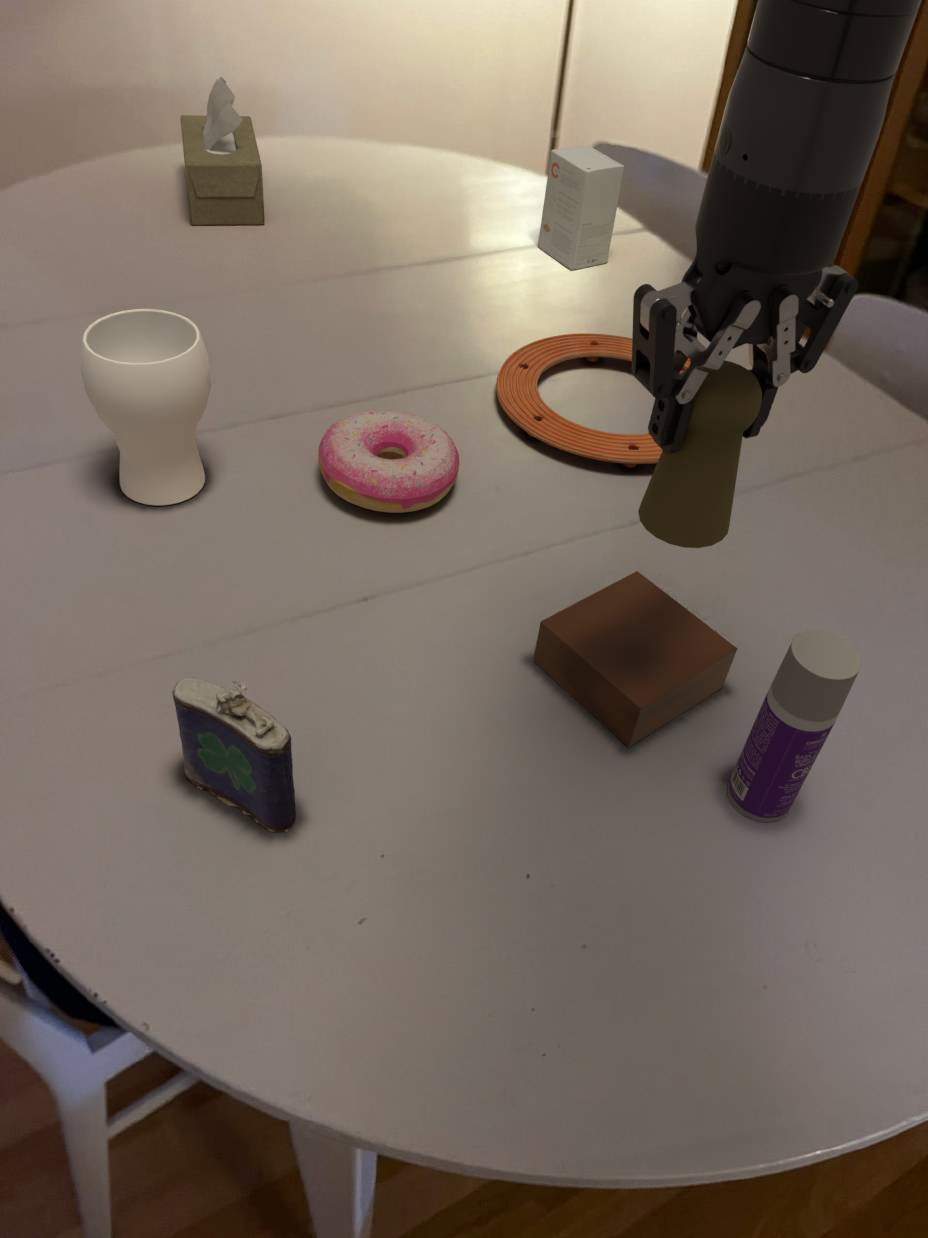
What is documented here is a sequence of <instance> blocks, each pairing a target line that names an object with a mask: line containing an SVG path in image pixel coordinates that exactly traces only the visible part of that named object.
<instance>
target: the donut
mask: <svg viewBox="0 0 928 1238" xmlns="http://www.w3.org/2000/svg"><path fill="white" fill-rule="evenodd" d="M318 445H319V446H318V466H319V469H320V473H321V475H322V478H323V479H324V481H325V482H326V484H327V486H328V487H329V488H330V490H331V491H332V492H334V493H335V495H337V496H338V497H339V498H341V499H343V500H344V501H346V502H348V503H350V504H353V505H355V506H358V507H360V508H363V509H367V510H371V511H375V512H380V513H390V514H397V513H399V514H401V513H410V512H416V511H420V510H423V509H427V508H429V507H431V506H433V505H435V504H437V503H439V502H440V501H441V500H442V499H443V498H444V497H445V496H447V494H448V493H449V491H450V490H451V489H452V487H453V485H454V484H455V483H456V481H457V477H458V474H459V470H460V454H459V451H458V448H457V447H456V444H455V442H454V440H453V438H452V437H451V436H450V434H448V433H447V431H446V430H444V429H443V428H442V427H440V426H439V425H438V424H436V423H434V422H432V421H430V420H428V419H426V418H425V417H422V416H419V415H416V414H413V413H408V412H405V411H399V410H390V409H389V410H387V409H383V410H382V409H381V410H379V409H377V410H367V411H366V410H365V411H361V412H357V413H354V414H351V415H347V416H345V417H343V418H340V419H339V420H338V421H336V422H334V423H332V424H331V425H330V427H328V428H327V429H326V431H325V432H324V435H323V436H322V438H321V440H320V443H319V444H318Z"/></svg>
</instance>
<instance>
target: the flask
mask: <svg viewBox="0 0 928 1238" xmlns="http://www.w3.org/2000/svg"><path fill="white" fill-rule="evenodd" d="M232 684H237V687H236V686H233V685H229V686H227V687H223V686H220V685H218V684H215V683H213V682H210V681H208V680H203V679H202V678H200V677H199V678H198V677H187V678H184V679H182V680H180V681H178V682H176V684H175V685H174V687H173V689H172V692H171V693H172V699H173V702H174V707H175V712H176V718H177V719H176V720H177V723H178V729H179V738H180V743H181V751H182V758H183V759H182V760H183V766H184V774H185V776H186V778H187V779H188V780H189V781H190V782H191V783H192V784H193V785H195V786H196V787H197V789H199V790H203V789H204V790H206V791H208V792H209V793H211V794H212V795H213V796H214V797H216V799H217V800H219V801H221V802H222V804H226V805H227V806H228V807H235V808H239V809H240V810H242V815H247V816H251V817H252V818H253V819H254V820H255V823H258V824H259V825H261V826H262V827H263V828H265V829H267V830H268V831H269V832H273V833H277V832H278V833H281V832H286V833H288V831H289V829H291V828H292V827H293V826H294V825H295V824H296V821H297V818H298V815H297V809H296V795H295V793H296V790H295V783H294V773H293V772H294V771H293V769H294V768H293V754H292V736H291V734H290V732H289V730H288V729H287V727H285V726H284V724H282V723H281V722H279V720H277V719H276V717H274V716H273V715H271V714H270V713H269V712H268V711H266V710H265V709H264V708H263V707H261V706H259V704H257V703H255V702H253V701H252V700H251V699H249V698H248V697H245V695H243V694H242V691H247V690H248V685H247V683H245V682H244V681H243V680H242V681H237V680H235V679H233V680H232ZM238 687H239V688H240V689H241V690H240V689H239V688H238Z"/></svg>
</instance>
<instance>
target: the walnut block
mask: <svg viewBox="0 0 928 1238" xmlns="http://www.w3.org/2000/svg"><path fill="white" fill-rule="evenodd" d="M737 652H738V647H736V646H735V645H734V644H732V643H731V642H730V641H729V640H727V639H726V638H724V636H722V635H721V634H720V633H718V632H717V631H716V630H714V629H713V628H711V626H709V624H706V623H705V622H704V621H703V620H701V619H700V618H699V617H697V616H696V615H695V614H694V613H693V612H691V611H689V609H688V608H686V607H685V606H683V604H680V602H678V601H677V600H676V599H675V598H673V597H672V596H671V595H669V594H668V593H667V592H666V591H664V590H662V588H660V587H658V585H656V584H655V583H654V582H653V581H651V580H650V579H649V578H647V577H646V576H645V575H643V574H642V573H641V572H640V571H638V570H637V571H635V572H632V573H630V574H628V575H626V576H625V577H623V578H621V579H619V580H617V581H615V582H613V583H610V584H609V585H607V586H605V587H603V588H602V589H599V590H598V591H596V592H594V593H592V594H589V595H588V596H587V597H585V598H582V599H580V600H579V601H577V602H574V603H573V604H571V605H569V606H568V607H565V608H564V609H561V610H559V611H557V612H556V613H554V614H552V615H550V616H548V617H546V618H544V619H542V620H541V621H540V623H539V628H538V633H537V638H536V643H535V649H534V654H533V658H532V661H533V662H534V663H535V664H536V665H537V666H538V667H539V668H540V669H541V670H542V671H543V672H545V673H546V674H547V675H548V676H549V677H550V678H551V679H552V680H553V681H555V682H556V683H557V684H558V685H559V686H560V687H561V688H562V689H563V690H564V691H565V692H567V694H568V695H570V696H571V697H572V698H573V699H575V700H576V702H577V703H579V704H580V705H581V706H582V707H583V708H584V709H585V710H587V712H588V713H590V714H591V715H592V716H593V717H594V718H595V719H597V721H598V722H600V724H602V725H603V726H604V727H605V728H606V729H608V730H609V732H611V733H612V734H613V735H614V736H615V737H616V738H617V739H618V740H620V742H621V743H623V744H624V745H625V746H626V747H627V748H630V747H632V746H633V745H635V744H637V743H639V742H640V741H641V740H643V739H644V738H646V737H648V736H649V735H650V734H652V733H654V732H655V731H657V730H659V729H660V728H661V727H663V726H665V725H666V724H668V723H669V722H671V721H673V720H674V719H675V718H678V717H679V716H680V715H681V714H684V713H686V712H687V711H688V710H690V709H691V708H693V707H694V706H696V705H697V704H699V703H700V702H702V701H704V700H705V699H707V698H708V697H710V696H711V695H713V694H715V693H716V692H717V691H719V690H721V689H722V688H723V687H724V684H725V682H726V680H727V677H728V675H729V673H730V669H731V667H732V664H733V662H734V659H735V656H736V654H737Z"/></svg>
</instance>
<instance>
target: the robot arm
mask: <svg viewBox="0 0 928 1238" xmlns="http://www.w3.org/2000/svg"><path fill="white" fill-rule="evenodd" d="M921 3H922V0H757V3H756V8H755V11H754V15H753V19H752V23H751V27H750V29H749V34H748V38H747V44H746V47H745V49H744V53H743V56H742V59H741V62H740V64H739V67H738V69H737V71H736V74H735V76H734V79H733V82H732V85H731V88H730V90H729V93H728V96H727V99H726V104H725V107H724V109H723V110H724V111H723V113H722V119H721V124H720V126H719V131H718V135H717V137H716V138H717V139H716V142H715V146H714V150H713V154H712V157H711V161H710V166H709V170H708V173H707V176H706V177H707V178H706V181H705V187H704V189H703V193H702V197H701V202H700V205H699V209H698V213H697V217H696V221H695V227H694V228H695V239H696V241H695V242H696V251H695V256H694V258H693V260H692V263H691V264H690V265H689V267H688V268H687V270H686V271H685V272H684V274H683V276H682V279H681V282H679V283H677V284H674V285H671V286H668V287H665V288H662V289H659V290H657V289H656V288H654V286H652V285H651V284H650V283H644V284H642V285H640V286H639V287H638V288H637V289H636V290H635V292H634V294H633V297H632V299H633V300H632V301H633V302H632V303H633V304H632V335H631V336H632V337H631V338H632V361H631V375H632V376H633V377H634V379H636V381H638V382H639V384H640V385H642V387H644V388H645V390H646V391H647V392H648V393H650V394H651V396H653V397H654V401H653V406H652V409H651V414H650V417H649V421H648V425H647V431H648V432H647V433H649V434H650V435H651V437H652V438H653V440H654V442H655V443H656V444H657V445H658V446H659V447H660V448H661V449H662V450H663V451H664V452H665V453H666V454H671V453H675V452H679V451H680V449H681V446H682V442H683V439H684V435H685V432H686V429H687V425H688V422H689V418H690V415H691V411H692V408H693V404H694V402H693V401H692V399H693V397H694V396H695V394H696V393H697V391H698V390H699V388H700V386H701V385H702V383H703V382H704V380H705V378H706V377H707V375H708V374H709V373H710V372H715V371H717V370H719V368H720V367H721V365H722V364H723V362H724V361H726V359H727V358H728V356H729V354H730V353H731V351H732V350H734V349H736V348H739V347H741V346H744V345H746V344H748V363H749V365H750V366H751V369H748V370H749V371H751V372H752V373H753V374H754V375H755V376H756V377H757V379H758V382H759V384H760V387H761V390H762V402H761V407H760V410H759V413H758V416H757V417H756V419H755V420H754V422H753V423H752V424H751V425H750V426H749V428H748V429H746V430H745V431H743V437H742V438H743V439H750V438H754V437H758V435H759V434H760V431H761V429H762V427H764V425H765V423H766V422H767V421H768V419H769V415H770V414H771V412H770V411H771V410H772V407H773V404H774V402H775V399H776V396H777V393H778V390H779V387H782V386H783V385H785V384H786V383H787V382H788V380H789V379H790V376H791V375H792V374H794V373H795V372H798V371H799V372H800V373H802V374H808V373H810V372H811V371H812V370H813V369H815V367H816V366H817V363H818V362H819V360H820V358H821V356H822V354H823V353H824V351H825V349H826V347H827V345H828V344H829V342H830V340H831V338H832V336H833V335H834V332H835V331H836V329H837V327H838V326H839V324H840V321H842V319H843V316H844V314H845V313H846V311H847V309H848V307H849V305H850V303H851V302H852V300H853V298H854V296H855V294H856V292H857V290H858V288H859V281H858V280H857V279H856V278H854V277H853V276H852V275H850V273H849V272H847V271H846V270H844V269H843V268H841V266H839V265H836V264H835V263H834V262H833V261H834V260H835V258H836V256H837V253H838V252H839V248H840V246H841V243H842V240H843V237H844V235H845V232H846V229H847V227H848V223H849V221H850V218H851V215H852V212H853V209H854V206H855V204H856V201H857V198H858V195H859V193H860V190H861V187H862V184H863V182H864V179H865V175H866V173H867V172H868V171H867V170H868V168H869V164H870V162H871V159H872V156H873V154H874V151H875V149H876V146H877V142H878V140H879V137H880V133H881V131H882V128H883V125H884V120H885V117H886V112H887V107H888V103H889V98H890V95H891V89H892V87H893V82H894V80H895V78H896V77H895V76H896V72H897V70H898V68H899V65H900V62H901V59H902V56H903V53H904V51H905V48H906V46H907V42H908V40H909V37H910V35H911V31H912V29H913V25H914V22H915V20H916V17H917V15H918V12H919V8H920V6H921ZM807 328H808V329H809V330H810V334H809V337H808V339H807V340H806V343H805V344H804V345H802V344H801V343H800V342H801V340H802V338H803V336H804V334H805V332H806V330H807ZM698 334H700V335H701V336H702V337H703V338H704V339H706V340H707V341H708V342H709V344H708V346H707V347H706V346H705V345H704V344H703V343H701V342H700V341H699V338H698ZM688 358H689V359H690V365H689V367H688V369H687V370H686V372H685V374H684V375H683V376H682V375H681V374H680V371H681V370H682V368H683V366H684V365H685V363H686V361H687V360H688Z"/></svg>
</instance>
